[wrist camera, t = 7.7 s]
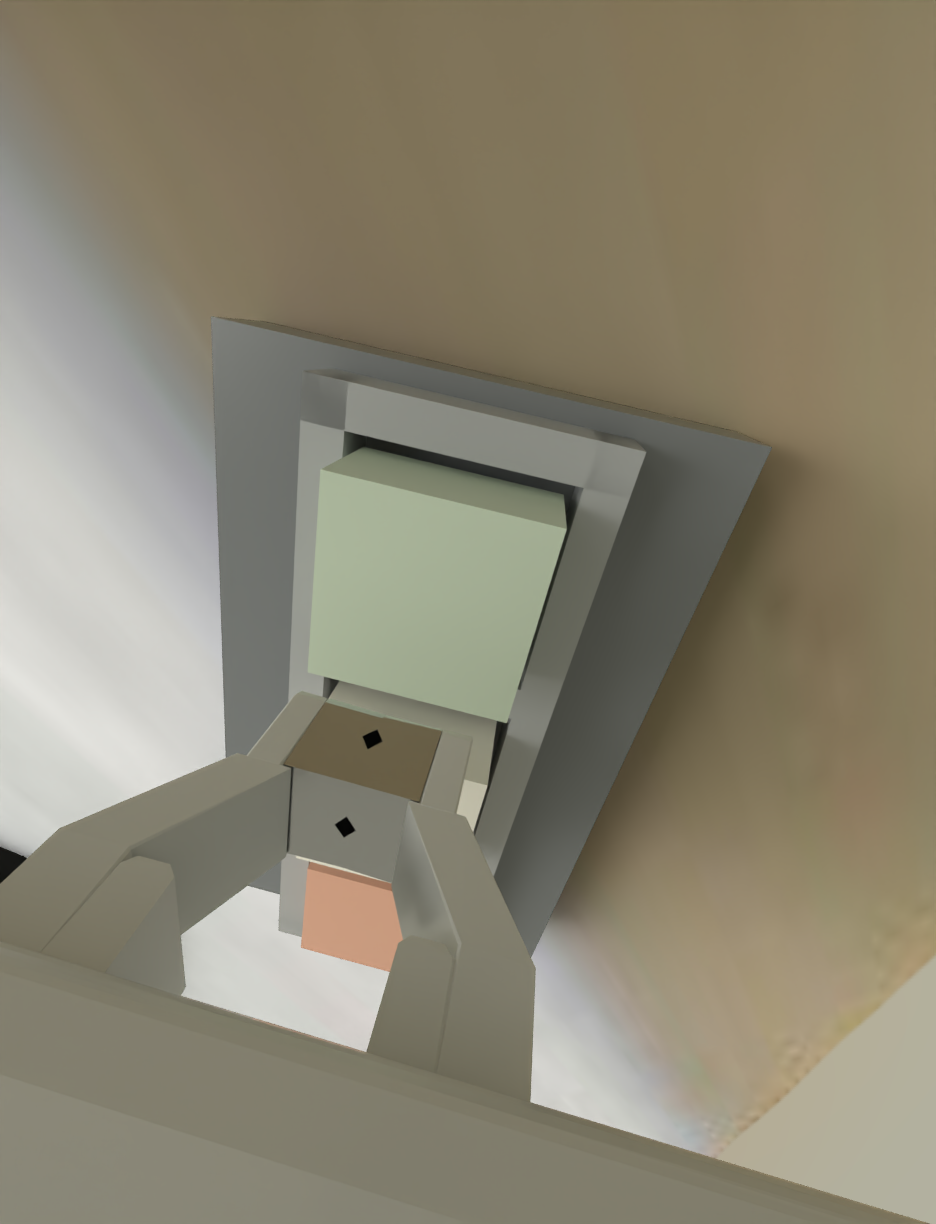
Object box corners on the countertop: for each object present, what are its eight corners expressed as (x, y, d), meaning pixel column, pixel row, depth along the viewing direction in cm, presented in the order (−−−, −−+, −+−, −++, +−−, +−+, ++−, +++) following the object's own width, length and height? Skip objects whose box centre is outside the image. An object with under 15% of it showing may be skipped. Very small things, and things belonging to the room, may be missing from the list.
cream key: (328, 792, 20) (295, 857, 18) (340, 680, 18) (303, 737, 15) (465, 827, 20) (452, 899, 18) (496, 720, 18) (487, 785, 15)
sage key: (346, 620, 17) (307, 672, 14) (363, 446, 14) (320, 469, 11) (513, 663, 16) (506, 723, 14) (563, 494, 14) (566, 529, 11)
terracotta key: (326, 885, 25) (301, 947, 23) (335, 808, 23) (307, 868, 20) (436, 914, 25) (423, 981, 22) (458, 840, 22) (446, 905, 20)
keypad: (258, 832, 29) (207, 918, 25) (263, 321, 17) (164, 311, 13) (530, 905, 29) (527, 1005, 24) (736, 431, 17) (804, 461, 12)
